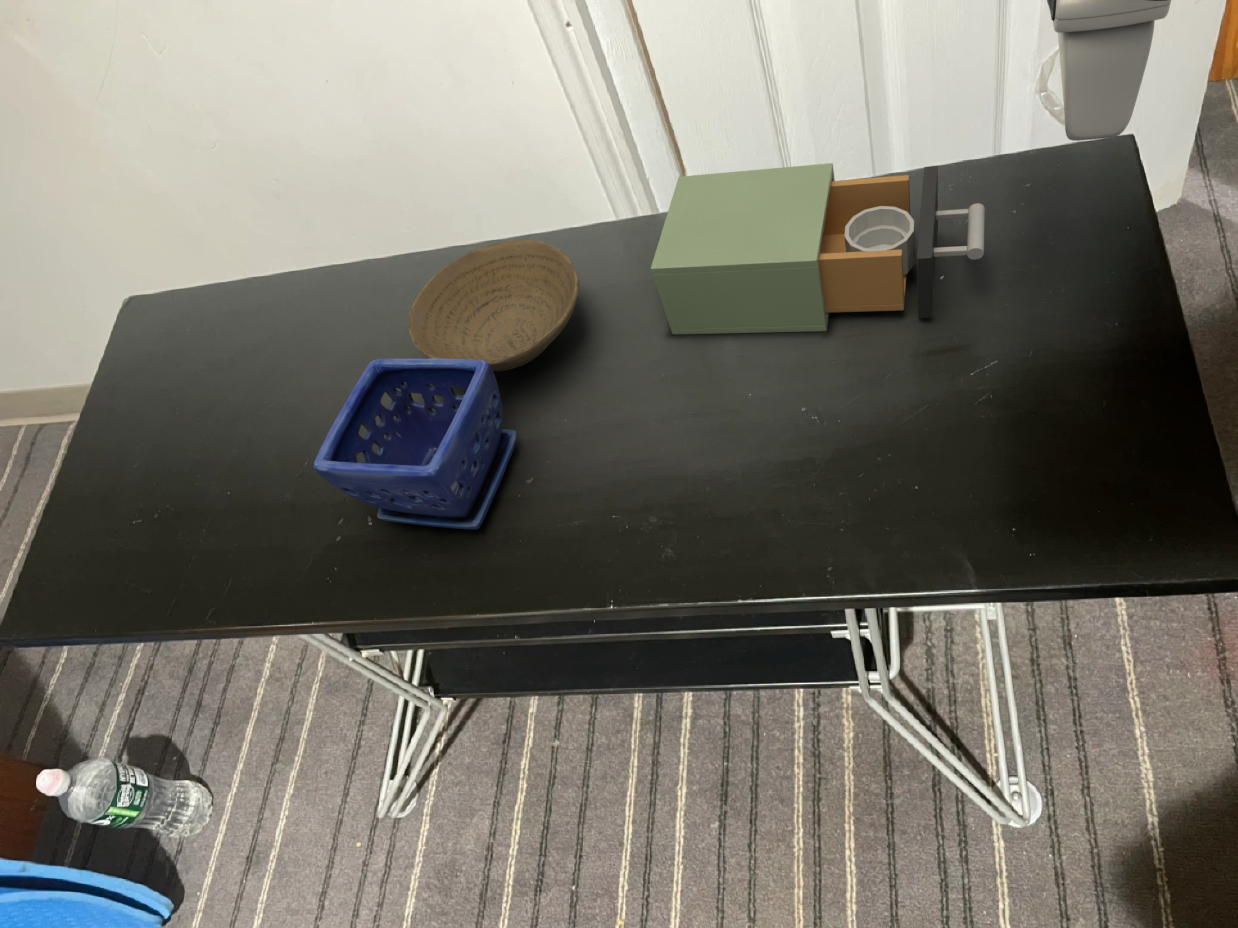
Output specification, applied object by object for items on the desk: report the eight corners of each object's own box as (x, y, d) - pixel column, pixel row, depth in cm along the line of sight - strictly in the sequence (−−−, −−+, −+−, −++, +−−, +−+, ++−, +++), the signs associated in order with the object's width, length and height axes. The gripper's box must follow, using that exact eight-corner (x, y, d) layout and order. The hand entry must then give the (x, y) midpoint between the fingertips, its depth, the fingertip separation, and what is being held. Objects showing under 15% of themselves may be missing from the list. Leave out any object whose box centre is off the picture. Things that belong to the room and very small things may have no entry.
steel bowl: (927, 250, 85) (926, 212, 82) (895, 294, 83) (893, 258, 80) (867, 236, 89) (865, 200, 85) (836, 278, 87) (832, 243, 83)
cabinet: (840, 235, 93) (832, 162, 86) (826, 331, 86) (816, 260, 79) (697, 244, 99) (678, 176, 92) (672, 334, 91) (650, 268, 84)
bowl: (603, 275, 100) (581, 219, 94) (595, 400, 89) (569, 346, 83) (452, 306, 104) (421, 254, 98) (427, 428, 93) (391, 378, 87)
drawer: (983, 224, 87) (986, 161, 81) (981, 316, 80) (984, 254, 75) (791, 235, 94) (782, 178, 88) (775, 321, 87) (764, 265, 81)
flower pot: (423, 430, 93) (367, 353, 84) (536, 435, 88) (489, 354, 79) (372, 538, 86) (305, 468, 77) (491, 551, 81) (434, 477, 72)
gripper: (1045, -131, 65) (1029, 44, 76) (1058, 24, 55) (1038, 204, 65) (1142, -150, 63) (1112, 33, 74) (1176, 8, 52) (1135, 196, 63)
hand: (1077, 115), depth 70 cm, fingers closed
